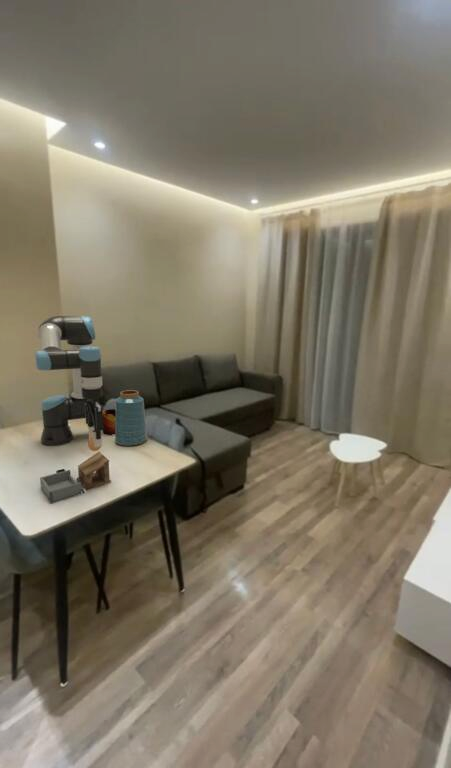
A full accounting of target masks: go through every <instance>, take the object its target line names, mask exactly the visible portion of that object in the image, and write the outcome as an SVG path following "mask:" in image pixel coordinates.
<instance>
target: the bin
mask: <svg viewBox="0 0 451 768" xmlns="http://www.w3.org/2000/svg"><path fill="white" fill-rule="evenodd" d="M39 480H40V490H42V492H43V494H44V495H45V497H46V498H47V500H48V501H49V504H53V503H54V504H55V503H57V502H60V501H63V500H66V499H69V498H73V497H76V496H79V495H82V494H83V492H82V490H81V488H82V485H81V482H78V481H77V480H75V478H74V477H73V476H72V475H71V470H70V469H67V470H65V471H63V472H59V473H56V472H55V473H52V474H49V475H44V476H41V477H39Z"/></svg>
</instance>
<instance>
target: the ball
mask: <svg viewBox="0 0 451 768" xmlns="http://www.w3.org/2000/svg"><path fill="white" fill-rule="evenodd" d="M87 445H88V446H87V447H88V449H89V450H90V451H93V452H98V451H99V450H100V449H101V448H102V446H99V447H94V438H93V439H91V440H90V441H89V440H88V444H87Z"/></svg>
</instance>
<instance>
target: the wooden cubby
mask: <svg viewBox="0 0 451 768" xmlns="http://www.w3.org/2000/svg"><path fill="white" fill-rule="evenodd" d="M109 462H110V460H109V459H108V458H107V456H105V455H104V454H103V453H101V452H100V451H96V453H94V454H93V455H92V456H90V457H89V458H87V459H86V460H84V461H83V462H82V463H80V464H78V465H77V469H78V477H76V481H77V483H79V482H81V487H82V488H84V489H83V490H84V491H90V490H93V489H95V488H99V487H102V486H105V485H108V484H112V480H111V479H110V464H109Z"/></svg>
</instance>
